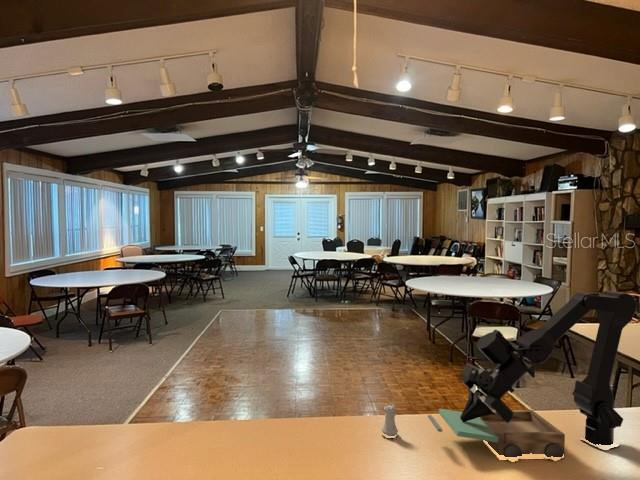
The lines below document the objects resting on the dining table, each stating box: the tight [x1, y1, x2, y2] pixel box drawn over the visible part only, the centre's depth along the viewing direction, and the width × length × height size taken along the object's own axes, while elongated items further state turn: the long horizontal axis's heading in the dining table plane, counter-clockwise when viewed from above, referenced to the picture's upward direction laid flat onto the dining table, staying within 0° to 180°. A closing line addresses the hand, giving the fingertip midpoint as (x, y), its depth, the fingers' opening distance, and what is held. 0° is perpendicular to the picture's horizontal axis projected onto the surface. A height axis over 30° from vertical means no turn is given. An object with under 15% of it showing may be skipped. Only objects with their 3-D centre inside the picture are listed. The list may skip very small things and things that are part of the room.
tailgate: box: [427, 408, 499, 442], centre depth 106 cm, size 2×13×14 cm
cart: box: [479, 409, 566, 457], centre depth 107 cm, size 16×16×6 cm
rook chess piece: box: [381, 403, 399, 436], centre depth 111 cm, size 4×4×8 cm
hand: (461, 420), depth 106 cm, fingers closed
